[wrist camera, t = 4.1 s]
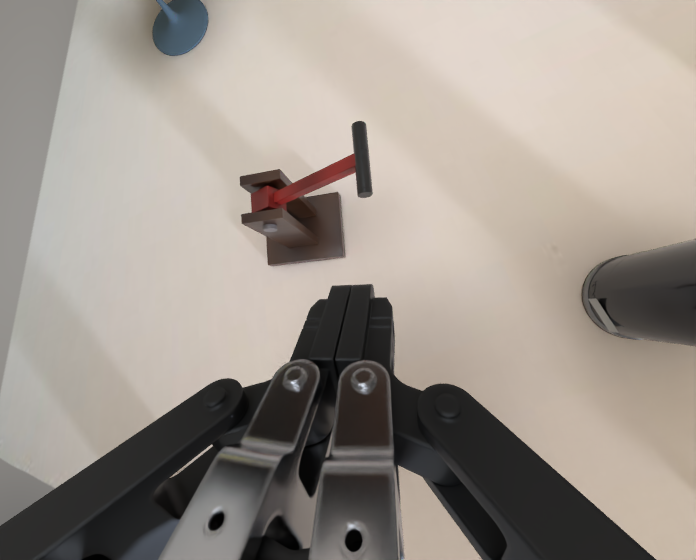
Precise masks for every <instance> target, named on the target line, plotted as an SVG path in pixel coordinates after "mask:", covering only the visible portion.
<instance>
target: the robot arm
mask: <svg viewBox="0 0 696 560" xmlns="http://www.w3.org/2000/svg"><path fill="white" fill-rule="evenodd" d="M583 303H584V306H585V309H586V311H587V313H588V315H589V316H590V318H591V319H592V320H593V321H594V322H595V323H596V324H597V325H598V326H599V327H600V328H602V329H603V330H605V331H607V332H608V333H610V334H613V335H615V336H618V337H622V338H628V339H638V340H651V341H658V342H665V343H673V344H681V345H689V346H696V239H693V240H689V241H685V242H681V243H677V244H672V245H668V246H664V247H660V248H656V249H652V250H648V251H643V252H639V253H635V254H631V255H624V256H619V257H615V258H612V259H609V260H606V261H604V262H602V263H600V264H599V265H598V266H596V267H595V268H594V269H593V270H592V271H591V272H590V274H589V275H588V277H587V278H586V280H585V283H584V286H583ZM394 349H395V333H394V322H393V310H392V305H391V304H390V302H389V301H388V299H387V297H386V298H375V296H374V288H373V285H372V284H367V285H353V286H352V285H340V286H332V287H331V290H330V293H329V296H328V299H319V300H318V301H317V302H316V303H315V304H314V305H313V306H312V307H311V308H310V311H309V313H308V316H307V321H305V324H304V326H303V329H302V331H301V334H300V336H299V339H298V342H297V344H296V347H295V349H294V352H293V354H292V357H291V359H290V362H288V363H287V364H285V365H283V366H282V367H281V368H280V369H279V370H278V371H277V372H276V373H275V375H274V376H273V378H272V379H271V380H268V381H266V382H263V383H259V384H255V385H251V386H248V387H244V388H242V386H241V385H240V383H239V382H238V381H236V380H234V379H229V378H227V379H221V380H218V381H215V382H213V383H211V384H209V385H208V386H206V387H205V388H203V389H202V390H200V391H199V392H197V393H196V394H194V395H193V396H191V397H190V398H188V399H187V400H186V401H184V402H183V403H181V404H180V405H178V406H177V407H175V408H174V409H172V410H171V411H169V412H168V413H166V414H165V415H163V416H162V417H160V418H159V419H157V420H156V421H155V422H153V423H152V424H150V425H149V426H147V427H146V428H144V429H143V430H141V431H140V432H138V433H137V434H135V435H134V436H132V437H131V438H129V439H128V440H126V441H125V442H124V443H122V444H121V445H119V446H118V447H116V448H115V449H113V450H112V451H110V452H109V453H107V454H106V455H104V456H103V457H101V458H100V459H98V460H97V461H95V462H94V463H92V464H91V465H90V466H88V467H87V468H85V469H84V470H82V471H81V472H79V473H78V474H76V475H75V476H73V477H72V478H70V479H69V480H67V481H66V482H64V483H63V484H61V485H60V486H59V487H57V488H56V489H54V490H53V491H51V492H50V493H48V494H47V495H45V496H44V497H43V498H41V499H39V500H38V501H36V502H35V503H33V504H32V505H31V506H29V507H28V508H26V509H25V510H23V511H22V512H20V513H19V514H17V515H16V516H14V517H13V518H11V519H10V520H8V521H7V522H5V523H4V524H2V525H1V526H0V560H405V554H404V540H403V526H402V515H401V501H400V486H399V470H398V465H399V466H401V467H403V468H405V469H407V470H409V471H411V472H414V473H416V474H418V475H420V476H422V477H423V478H424V480H425V481H426V483H427V484H428V486H429V487H430V488H431V490H432V491H433V492H434V494H435V495H436V496H437V498H438V499H439V501H440V502H441V503H442V505H443V506H444V507H445V509H446V510H447V511H448V513H449V514H450V516H451V517H452V518H453V520H454V521H455V522H456V524H457V525H458V526H459V528H460V529H461V531H462V532H463V533H464V535H465V536H466V537H467V539H468V540H469V542H470V543H471V544H472V546H473V547H474V548H475V550H476V551H477V552H478V554H479V555H480V557H481V558H482V559H483V560H656V559H655V558H654V557H653V556H651V555H650V554H649V553H648V552H647V551H646V550H645V549H644V548H642V547H641V546H640V545H639V544H638V543H637V542H636V541H635V540H633V539H632V538H631V537H630V536H629V535H628V534H627V533H625V532H624V531H623V530H622V529H621V528H620V527H619V526H618V525H616V524H615V523H614V522H613V521H612V520H611V519H610V518H609V517H607V516H606V515H605V514H604V513H603V512H602V511H601V510H600V509H598V508H597V507H596V506H595V505H594V504H593V503H592V502H590V501H589V500H588V499H587V498H586V497H585V496H584V495H583V494H581V493H580V492H579V491H578V490H577V489H576V488H575V487H574V486H572V485H571V484H570V483H569V482H568V481H567V480H566V479H565V478H563V477H562V476H561V475H560V474H559V473H558V472H557V471H555V470H554V469H553V468H552V467H551V466H550V465H549V464H548V463H546V462H545V461H544V460H543V459H542V458H541V457H540V456H539V455H537V454H536V453H535V452H534V451H533V450H532V449H531V448H530V447H528V446H527V445H526V444H525V443H524V442H523V441H522V440H521V439H519V438H518V437H517V436H516V435H515V434H514V433H513V432H511V431H510V430H509V429H508V428H507V427H506V426H505V425H504V424H502V423H501V422H500V421H499V420H498V419H497V418H496V417H495V416H493V415H492V414H491V413H490V412H489V411H488V410H487V409H486V408H484V407H483V406H482V405H481V404H480V403H479V402H478V401H476V400H475V399H474V398H473V397H472V396H471V395H470V394H469V393H467V392H466V391H465V390H463V389H461V388H459V387H457V386H454V385H451V384H435V385H432V386H430V387H428V388H426V389H425V390H424V391H421V390H418V389H415V388H412V387H410V386H407V385H405V384H403V383H402V382H401V381H399V380H398V379H397V378H396V377H395V375H394V353H395V350H394ZM211 444H212V445H213V447H211V448H210V449H209V450H208V451H206V452H205V453H204V454H203V455H201V456H200V457H199V458H198V459H196V460H195V461H194V462H193V463H191V464H190V465H189V466H188V467H186V468H185V469H184V470H182V471H181V472H180V473H179V474H177V475H176V476H174V477H171V478H169V477H170V476H172V475H173V474H174V473H176V472H177V471H178V470H179V469H181V468H182V467H183V466H184V465H186V464H187V463H188V462H189V461H191V460H192V459H193V458H195V457H196V456H197V455H198V454H200V453H201V452H202V451H203V450H205V449H206V448H207V447H208V446H210V445H211Z"/></svg>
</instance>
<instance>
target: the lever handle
mask: <svg viewBox="0 0 696 560" xmlns="http://www.w3.org/2000/svg"><path fill="white" fill-rule="evenodd" d="M352 137H353V148H354V154H352V155H350V156H348V157H346V158H344V159H342V160H340V161H338V162H336V163H334V164H331V165H329V166H327V167H325V168H323V169H321V170H319V171H317V172H315V173H313V174H311V175H309V176H307V177H305V178H303V179H301V180H299V181H297V182H295V183H293V184H290V185H288V186H286V187H284V188H282V189H280V190H278V189H276V188H273V187H270V186H265V187H264V188H262V189H260V190H258V191H256V192H254V193H252V194H251V206H252V213H253V212H259V211H266V210H272V209H278V208H283V209H284V210H285V211H286V212H287V206H286V203H287V202H289V201H291V200H294V199H296V198H298V197H300V196H303V195H305V194H307V193H310V192H312V191H314V190H316V189H319V188H321V187H323V186H326V185H328V184H330V183H332V182H335V181H337V180H339V179H342V178H344V177H346V176H348V175H351V174H353V173H355V172H356V181H357V193H358V197H361V198H366V197H370V196H372V194H373V192H372V182H371V171H370V161H369V150H368V140H367V129H366V124H365V123H364V122H362V121H357V122H355V123H353V124H352Z"/></svg>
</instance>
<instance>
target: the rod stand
mask: <svg viewBox="0 0 696 560" xmlns="http://www.w3.org/2000/svg"><path fill="white" fill-rule="evenodd" d="M290 184H293V183H292V182H291V181H290V180H289V179H288V178H287V177H286V176H285V174H284V173H283V172H282V171H281V170H280V169H278V170H273V171H267V172H262V173H257V174H251V175H246V176H240V186H241V187H243V188H244V189H245V190H247V191H248V192H250V193H251V194H252V193H254V192H256V191H258V190H260V189H262V188H264V187H265V186H270V187H273V188H276V189H278V190H280V189H282V188H284V187H286V186H288V185H290ZM286 206H287V212H286V211H285V210H284V209H283V208H278V209H272V210H266V211H259V212H253V213H247V214H242V215H241V216H242V224H244V225H245V226H247V227H249V228H251V229H253V230H255V231H257V232H259V233H261V234H263V235H265V236H266V237H267V257H268V265H270V266H277V265H285V264H293V263H302V262H310V261H318V260H327V259H335V258H343V257H345V248H344V236H343V224H342V211H341V199H340V194H339V193H338V192H335V193H329V194H323V195H317V196H311V197H305V196H304V195H303V196H300V197H298V198H296V199H294V200H291V201H289V202H287V203H286Z"/></svg>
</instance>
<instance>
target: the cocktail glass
mask: <svg viewBox="0 0 696 560" xmlns="http://www.w3.org/2000/svg"><path fill="white" fill-rule="evenodd" d="M156 1H157V2H158V4H159V5H160V6H161V8H162V10H161V11H160V13H159V14H158V16H157V18H156V20H155V22H154V26H153V40H154V43H155V45H156V47H157V48H158V49H159V50H160V51H161V52H163V53H164V54H167V55H172V56H174V55H181V54H184V53H186V52H188V51H190V50H191V49H193V48H194V47H195V46H196V45H197V44H198V43H199V42H200V40H201V39H202V37H203V36H204V34H205V32H206V29H207V24H208V14H207V10H206V8H205V6H204V4H203V3H202V2H201V1H200V0H172V1H171V2H169V3H168V4H166V3H165V2H164V1H163V0H156Z"/></svg>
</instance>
